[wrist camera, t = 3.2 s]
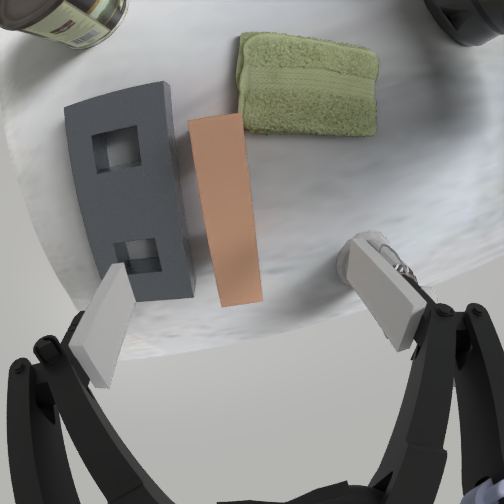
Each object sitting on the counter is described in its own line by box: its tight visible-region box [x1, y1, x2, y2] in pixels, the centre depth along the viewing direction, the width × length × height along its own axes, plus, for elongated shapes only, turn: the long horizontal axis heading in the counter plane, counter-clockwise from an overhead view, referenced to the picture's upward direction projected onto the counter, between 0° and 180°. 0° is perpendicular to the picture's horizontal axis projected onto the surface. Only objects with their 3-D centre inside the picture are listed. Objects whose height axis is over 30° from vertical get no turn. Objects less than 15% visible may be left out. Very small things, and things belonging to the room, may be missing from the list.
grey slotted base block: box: [64, 81, 196, 302], centre depth 31 cm, size 26×12×4 cm, turn 3°
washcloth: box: [236, 32, 379, 137], centre depth 28 cm, size 13×18×3 cm
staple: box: [188, 113, 263, 307], centre depth 28 cm, size 17×4×12 cm, turn 6°
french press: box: [336, 231, 456, 387], centre depth 29 cm, size 10×12×25 cm
